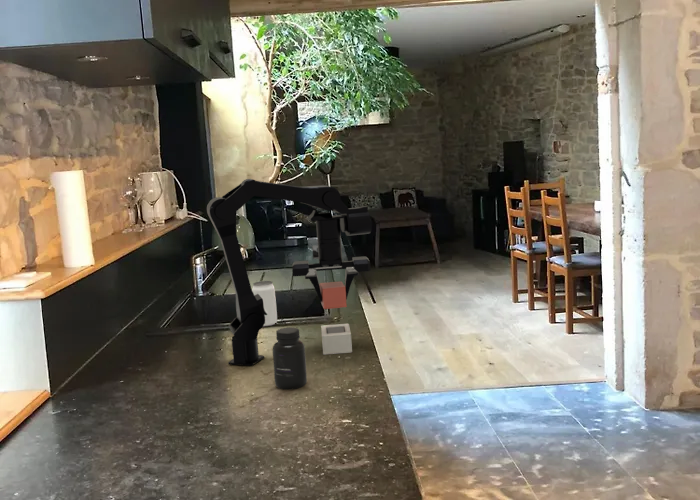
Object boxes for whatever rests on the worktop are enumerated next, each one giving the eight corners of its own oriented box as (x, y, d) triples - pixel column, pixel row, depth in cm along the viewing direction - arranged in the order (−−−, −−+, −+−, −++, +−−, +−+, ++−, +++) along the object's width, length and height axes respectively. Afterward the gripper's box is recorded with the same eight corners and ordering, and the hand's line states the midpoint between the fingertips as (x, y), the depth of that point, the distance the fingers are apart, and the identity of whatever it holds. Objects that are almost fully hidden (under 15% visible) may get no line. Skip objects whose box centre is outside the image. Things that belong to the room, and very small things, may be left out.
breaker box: (352, 352, 166) (350, 334, 166) (323, 354, 166) (321, 336, 165) (349, 340, 176) (348, 323, 176) (322, 342, 176) (321, 325, 175)
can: (250, 325, 197) (246, 284, 195) (263, 320, 203) (259, 280, 201) (269, 327, 194) (265, 285, 192) (281, 321, 200) (278, 280, 198)
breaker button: (345, 344, 169) (344, 332, 168) (328, 345, 168) (327, 333, 168) (344, 338, 174) (343, 326, 173) (328, 339, 173) (327, 328, 173)
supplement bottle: (278, 392, 143) (273, 336, 141) (272, 382, 149) (268, 328, 147) (310, 387, 145) (306, 331, 143) (303, 377, 151) (299, 324, 149)
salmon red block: (346, 307, 166) (345, 286, 166) (324, 309, 166) (322, 288, 165) (342, 300, 173) (341, 281, 173) (321, 302, 173) (319, 283, 172)
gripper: (364, 230, 175) (368, 290, 178) (291, 236, 174) (295, 296, 177) (368, 236, 164) (372, 300, 167) (290, 242, 163) (295, 306, 166)
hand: (333, 300), depth 169 cm, fingers closed on salmon red block, 6 cm apart
